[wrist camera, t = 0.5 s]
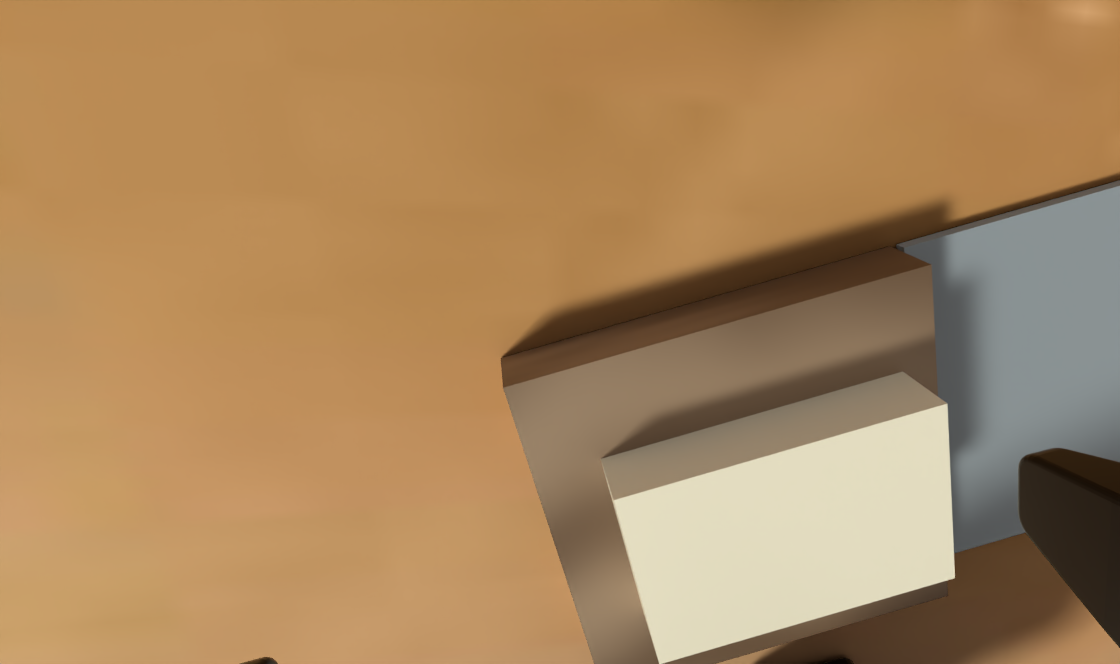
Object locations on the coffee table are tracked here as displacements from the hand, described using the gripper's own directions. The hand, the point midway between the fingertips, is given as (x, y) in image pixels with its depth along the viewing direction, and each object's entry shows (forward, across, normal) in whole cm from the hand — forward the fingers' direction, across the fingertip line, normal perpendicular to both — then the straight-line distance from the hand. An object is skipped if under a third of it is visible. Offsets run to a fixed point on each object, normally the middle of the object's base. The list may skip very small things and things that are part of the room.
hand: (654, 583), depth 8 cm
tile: (+11, -5, +8) cm, 14 cm away
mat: (+13, -17, +7) cm, 22 cm away
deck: (+13, -4, +8) cm, 15 cm away
